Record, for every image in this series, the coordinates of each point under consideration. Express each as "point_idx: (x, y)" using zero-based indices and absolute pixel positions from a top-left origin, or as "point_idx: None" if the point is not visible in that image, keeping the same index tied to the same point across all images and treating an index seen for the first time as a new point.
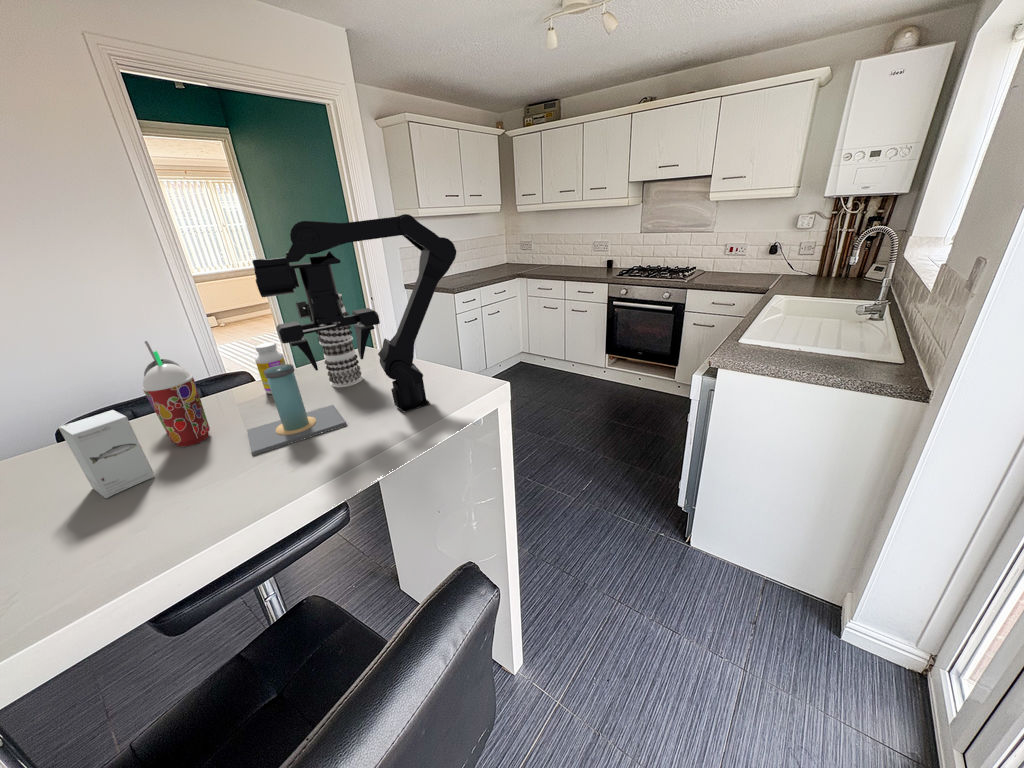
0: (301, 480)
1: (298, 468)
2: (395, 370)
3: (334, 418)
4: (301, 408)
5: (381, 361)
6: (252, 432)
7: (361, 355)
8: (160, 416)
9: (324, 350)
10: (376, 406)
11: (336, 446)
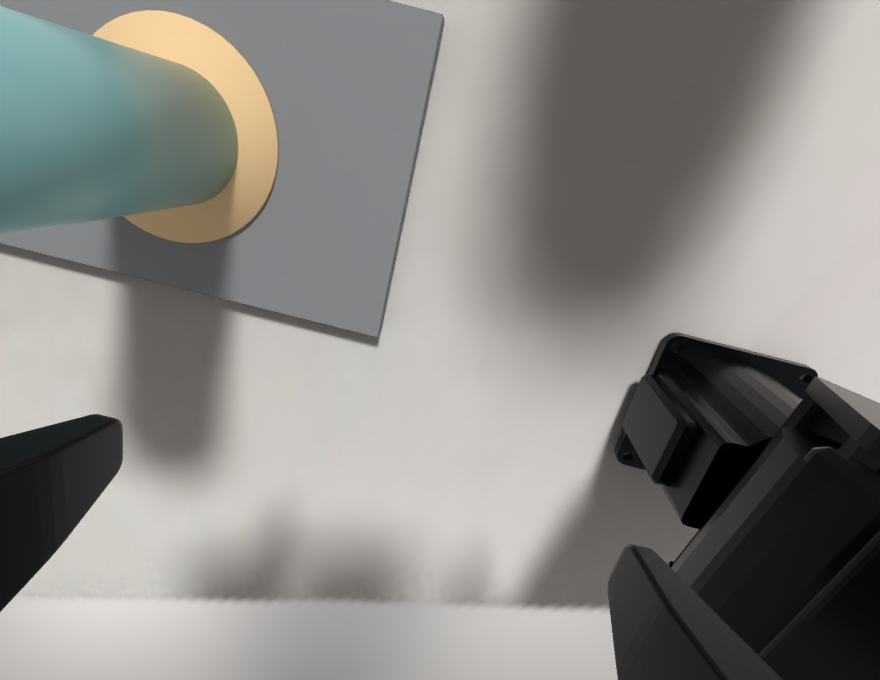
0: (124, 539)
1: (128, 475)
2: None
3: (355, 243)
4: (150, 203)
5: (780, 563)
6: None
7: (620, 653)
8: None
9: None
10: (598, 264)
11: (273, 455)
